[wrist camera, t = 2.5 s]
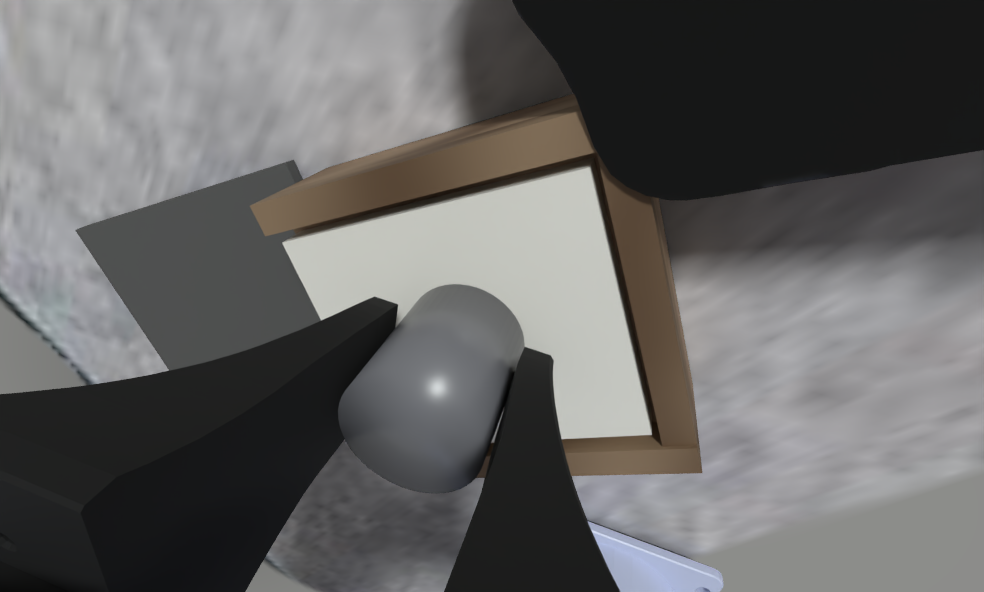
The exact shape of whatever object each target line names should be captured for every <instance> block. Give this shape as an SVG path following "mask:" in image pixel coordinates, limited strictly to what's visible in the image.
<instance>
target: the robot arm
mask: <svg viewBox="0 0 984 592" xmlns="http://www.w3.org/2000/svg"><path fill="white" fill-rule="evenodd" d="M397 311H398V304H396V303H393V302H390V301H387V300H384V299H381V298H378V297H375V296H374V297H372V298H370V299H367V300H365V301H363V302H361V303H358V304H356V305H354V306H352V307H350V308H348V309H345V310H343V311H341V312H339V313H337V314H335V315H333V316H330V317H328V318H326V319H324V320H321V321H319V322H317V323H314V324H312V325H310V326H308V327H305V328H303V329H301V330H298V331H296V332H293V333H291V334H288V335H285V336H283V337H280V338H278V339H275V340H273V341H270V342H267V343H265V344H262V345H260V346H257V347H254V348H251V349H248V350H245V351H242V352H239V353H236V354H232V355H229V356H225V357H222V358H219V359H215V360H212V361H208V362H204V363H200V364H196V365H192V366H187V367H183V368H179V369H174V370H170V371H166V372H162V373H157V374H153V375H148V376H142V377H137V378H131V379H125V380H120V381H113V382H107V383H100V384H94V385H86V386H79V387H71V388H61V389H52V390H42V391H33V392H23V393H12V394H0V592H245V591H246V589H247V588H248V586H249V584H250V582H251V580H252V578H253V577H254V575H255V573H256V572H257V570H258V568H259V567H260V565H261V563H262V562H263V560H264V558H265V556H266V555H267V553H268V551H269V550H270V548H271V546H272V545H273V543H274V541H275V540H276V538H277V536H278V535H279V533H280V531H281V530H282V528H283V526H284V525H285V523H286V521H287V520H288V518H289V517H290V515H291V513H292V512H293V510H294V509H295V507H296V505H297V504H298V502H299V500H300V499H301V497H302V496H303V494H304V493H305V491H306V490H307V488H308V487H309V486H310V484H311V483H312V481H313V480H314V478H315V477H316V476H317V474H318V473H319V472H320V471H321V469H322V468H323V467H324V465H325V464H326V463H327V461H328V460H329V459H330V457H331V456H332V455H333V454H334V452H335V451H336V450H337V448H338V447H339V446H340V444H341V443H342V442H343V441H344V439H345V438H344V436H343V434H342V431H341V428H340V425H339V420H338V408H339V402H340V400H341V397H342V395H343V393H344V392H345V390H346V389H347V388H348V386H349V385H350V384H351V383H352V381H353V380H354V379H355V378H356V377H357V375H358V374H359V373H360V372H361V370H362V369H363V368H364V367H365V365H366V364H367V363H368V362H369V360H370V359H371V358H372V357H373V355H374V354H375V353H376V352H377V350H378V349H379V348H380V347H381V345H382V344H383V343H384V342H385V340H386V339H387V338H388V337H389V335H390V334H391V333H392V332H393V331H394V329H395V326H396V318H397ZM553 364H554V360H553V358H552V357H551V355H548V354H545V353H542V352H539V351H536V350H533V349H530V348H527V347H524V349H523V352H522V354H521V356H520V359H519V361H518V364H517V367H516V370H515V374H514V377H513V380H512V384H511V387H510V391H509V394H508V397H507V401H506V404H505V407H504V411H503V414H502V417H501V421H500V424H499V428H498V431H497V434H496V438H495V441H494V444H493V448H492V452H491V456H490V460H489V464H488V468H487V472H486V476H485V480H484V484H483V488H482V492H481V495H480V498H479V501H478V504H477V506H476V509H475V512H474V514H473V517H472V520H471V522H470V525H469V528H468V530H467V533H466V536H465V538H464V541H463V544H462V546H461V549H460V552H459V554H458V557H457V559H456V562H455V565H454V567H453V570H452V573H451V575H450V578H449V580H448V583H447V586H446V588H445V591H444V592H720V590H721V589H722V588H723V577H722V574H721V573H720V572H719V571H718V570H716V569H715V568H712V567H710V566H707V565H704V564H702V563H699V562H696V561H694V560H691V559H688V558H686V557H683V556H680V555H678V554H675V553H672V552H670V551H667V550H664V549H662V548H659V547H656V546H653V545H651V544H648V543H645V542H643V541H640V540H637V539H635V538H632V537H629V536H627V535H624V534H621V533H618V532H616V531H613V530H610V529H608V528H605V527H602V526H600V525H597V524H594V523H592V522H589V521H587V519H586V516H585V513H584V511H583V508H582V506H581V503H580V500H579V498H578V495H577V492H576V489H575V486H574V483H573V480H572V476H571V473H570V470H569V466H568V463H567V459H566V455H565V451H564V447H563V443H562V439H561V434H560V429H559V423H558V418H557V412H556V406H555V398H554V387H553Z"/></svg>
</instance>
